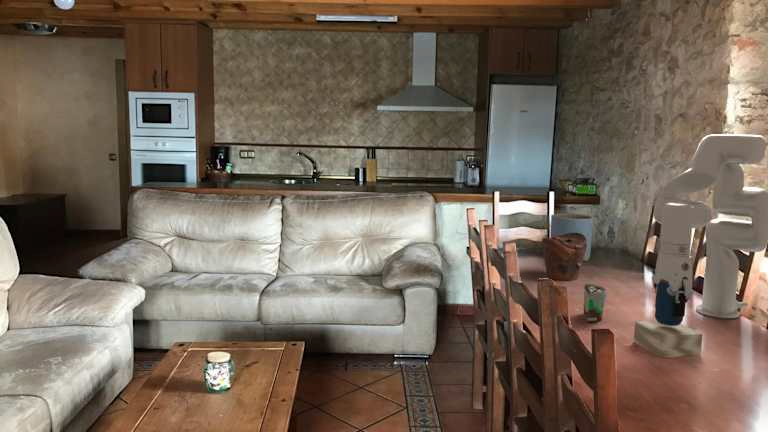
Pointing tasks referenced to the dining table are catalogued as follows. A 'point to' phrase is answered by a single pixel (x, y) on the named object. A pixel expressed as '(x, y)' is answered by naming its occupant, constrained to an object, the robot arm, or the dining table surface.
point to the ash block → (667, 339)
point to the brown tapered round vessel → (564, 255)
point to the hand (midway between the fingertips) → (669, 311)
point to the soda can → (666, 305)
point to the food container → (594, 302)
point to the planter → (573, 227)
